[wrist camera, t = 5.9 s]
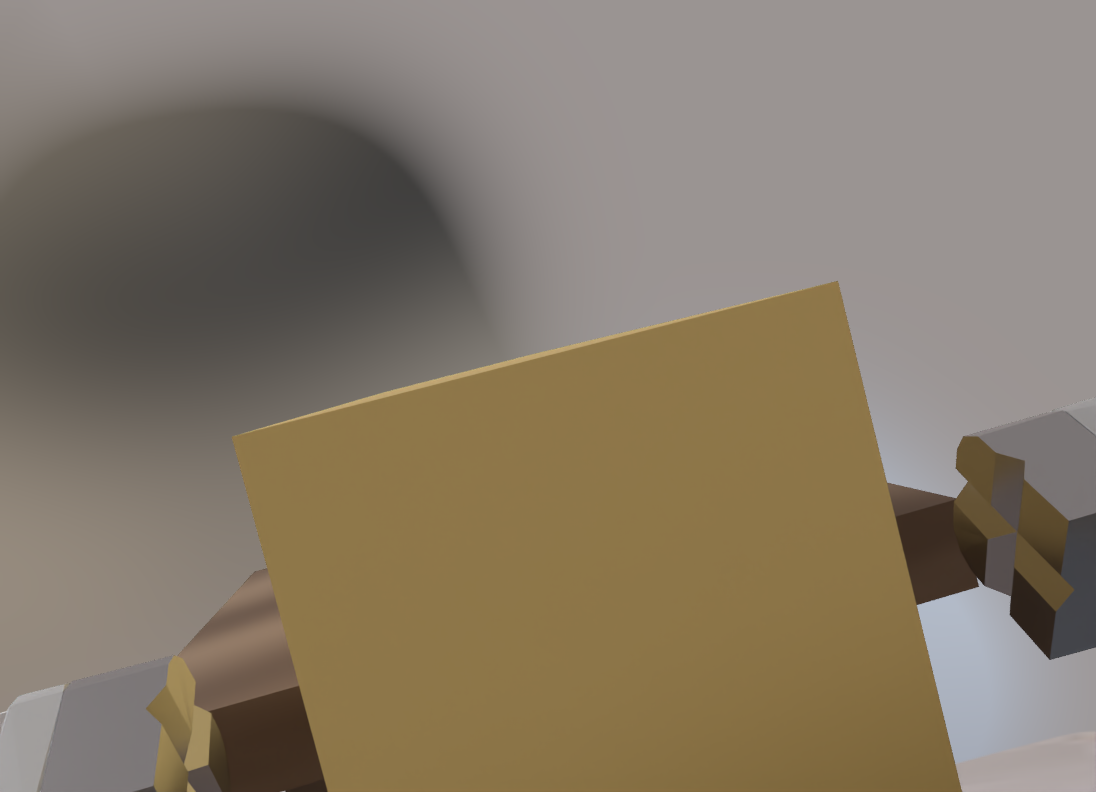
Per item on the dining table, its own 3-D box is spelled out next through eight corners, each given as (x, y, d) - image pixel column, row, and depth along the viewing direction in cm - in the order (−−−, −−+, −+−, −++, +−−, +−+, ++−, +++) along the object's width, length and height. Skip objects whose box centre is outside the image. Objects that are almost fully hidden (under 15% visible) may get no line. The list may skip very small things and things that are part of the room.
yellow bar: (965, 808, 8) (837, 280, 8) (382, 991, 7) (231, 437, 7) (571, 490, 30) (535, 353, 29) (419, 531, 29) (382, 392, 29)
